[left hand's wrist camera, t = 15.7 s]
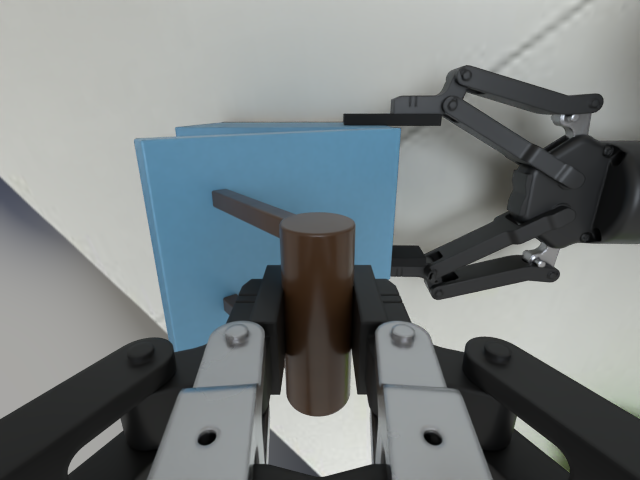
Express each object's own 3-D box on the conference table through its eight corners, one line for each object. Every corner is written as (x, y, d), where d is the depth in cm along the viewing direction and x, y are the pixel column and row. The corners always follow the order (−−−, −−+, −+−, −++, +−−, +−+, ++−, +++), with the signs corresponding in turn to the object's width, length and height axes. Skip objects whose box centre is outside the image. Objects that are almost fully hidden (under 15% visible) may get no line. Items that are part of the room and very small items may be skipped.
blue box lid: (171, 356, 16) (269, 510, 10) (132, 138, 13) (243, 163, 7) (378, 273, 25) (503, 329, 18) (387, 127, 21) (543, 134, 15)
